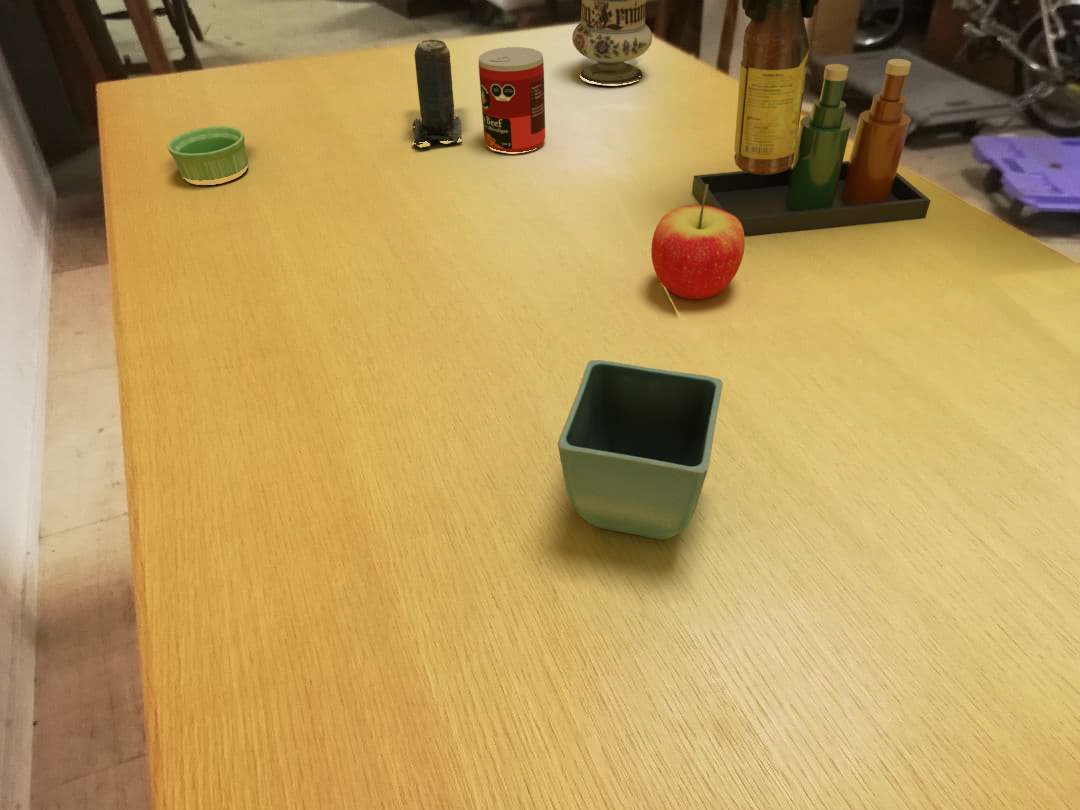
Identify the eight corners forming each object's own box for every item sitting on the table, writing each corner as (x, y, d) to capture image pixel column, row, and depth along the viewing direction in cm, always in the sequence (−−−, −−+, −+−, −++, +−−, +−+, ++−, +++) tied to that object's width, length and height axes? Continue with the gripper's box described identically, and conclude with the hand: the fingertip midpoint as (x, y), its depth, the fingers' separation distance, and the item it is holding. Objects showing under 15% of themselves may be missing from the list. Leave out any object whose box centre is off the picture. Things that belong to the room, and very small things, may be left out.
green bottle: (820, 192, 88) (849, 57, 79) (840, 212, 85) (873, 73, 75) (778, 196, 88) (802, 61, 79) (796, 216, 84) (823, 77, 75)
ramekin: (241, 153, 103) (231, 120, 100) (262, 176, 97) (253, 142, 94) (171, 170, 99) (159, 136, 97) (188, 196, 94) (176, 160, 91)
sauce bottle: (805, 170, 81) (842, -48, 68) (753, 183, 79) (781, -38, 66) (768, 147, 86) (796, -60, 73) (719, 159, 84) (738, -51, 71)
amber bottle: (875, 186, 89) (910, 52, 80) (896, 206, 85) (936, 67, 76) (833, 190, 89) (863, 56, 79) (853, 210, 85) (887, 71, 75)
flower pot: (692, 572, 49) (708, 472, 44) (557, 545, 51) (555, 445, 46) (708, 475, 56) (724, 376, 50) (587, 454, 58) (589, 357, 52)
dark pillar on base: (472, 144, 103) (463, 48, 95) (414, 152, 101) (400, 55, 94) (458, 120, 110) (449, 28, 102) (403, 128, 108) (390, 35, 100)
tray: (874, 177, 92) (879, 157, 90) (924, 221, 83) (931, 200, 82) (691, 195, 90) (693, 175, 88) (723, 242, 81) (726, 220, 80)
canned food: (476, 139, 104) (469, 52, 97) (531, 128, 107) (528, 43, 99) (497, 160, 99) (491, 69, 92) (555, 148, 101) (553, 59, 94)
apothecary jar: (644, 92, 116) (652, -46, 105) (565, 88, 119) (564, -47, 107) (654, 66, 125) (662, -63, 113) (580, 63, 127) (581, -64, 116)
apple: (743, 274, 76) (759, 177, 70) (728, 322, 70) (744, 220, 64) (660, 262, 78) (668, 166, 72) (639, 306, 72) (645, 207, 66)
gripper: (729, -232, 58) (703, 34, 69) (943, -242, 59) (882, 20, 71) (698, -234, 63) (679, 12, 75) (894, -243, 65) (845, 0, 77)
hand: (778, 14), depth 73 cm, fingers closed on sauce bottle, 4 cm apart
